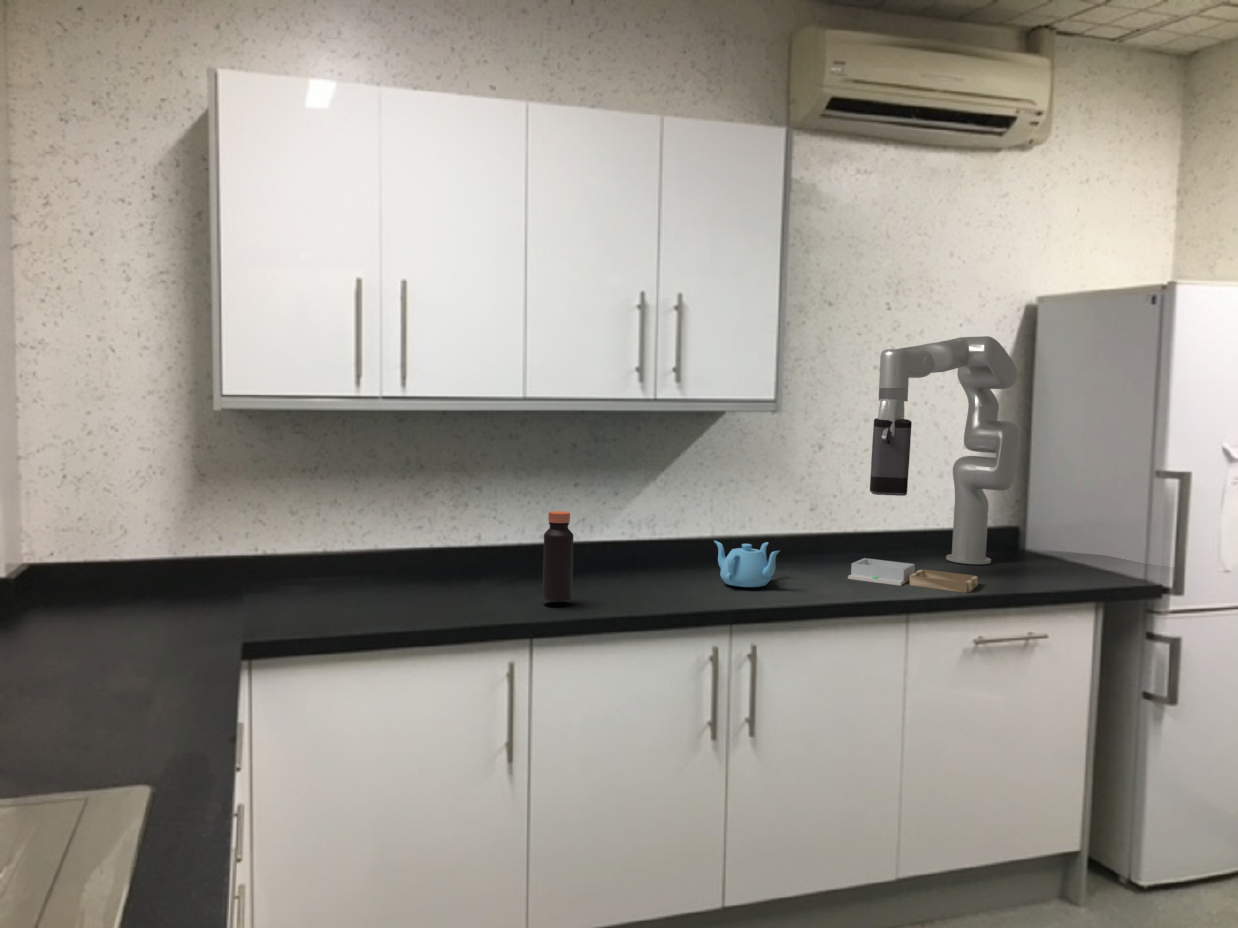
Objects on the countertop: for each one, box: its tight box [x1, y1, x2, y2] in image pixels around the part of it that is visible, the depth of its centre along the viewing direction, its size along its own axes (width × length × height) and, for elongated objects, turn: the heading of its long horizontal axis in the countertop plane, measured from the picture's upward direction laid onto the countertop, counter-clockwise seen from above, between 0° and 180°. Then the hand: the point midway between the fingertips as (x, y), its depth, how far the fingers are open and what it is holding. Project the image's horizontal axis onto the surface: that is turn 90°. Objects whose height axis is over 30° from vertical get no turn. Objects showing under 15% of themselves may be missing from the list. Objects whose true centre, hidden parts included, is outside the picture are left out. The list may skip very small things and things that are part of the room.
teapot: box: [713, 540, 781, 588], centre depth 237 cm, size 15×15×10 cm
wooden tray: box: [908, 569, 979, 593], centre depth 242 cm, size 12×15×2 cm
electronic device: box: [869, 417, 913, 497], centre depth 247 cm, size 9×6×20 cm, turn 84°
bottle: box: [542, 510, 574, 602], centre depth 213 cm, size 7×7×20 cm
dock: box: [847, 557, 916, 587], centre depth 251 cm, size 16×14×4 cm
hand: (890, 463), depth 248 cm, fingers closed on electronic device, 4 cm apart
